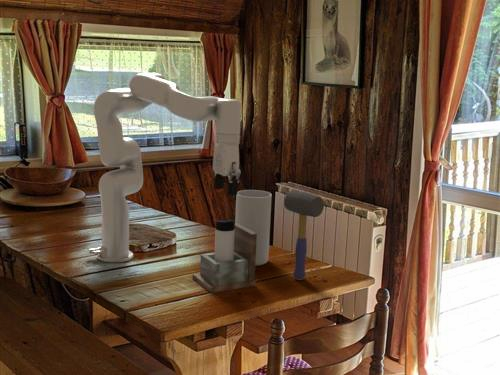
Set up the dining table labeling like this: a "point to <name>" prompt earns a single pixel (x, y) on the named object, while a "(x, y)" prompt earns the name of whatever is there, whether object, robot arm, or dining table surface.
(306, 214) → the rubber mallet
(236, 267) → the post holder
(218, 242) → the travel mug
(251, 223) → the cylinder vase
